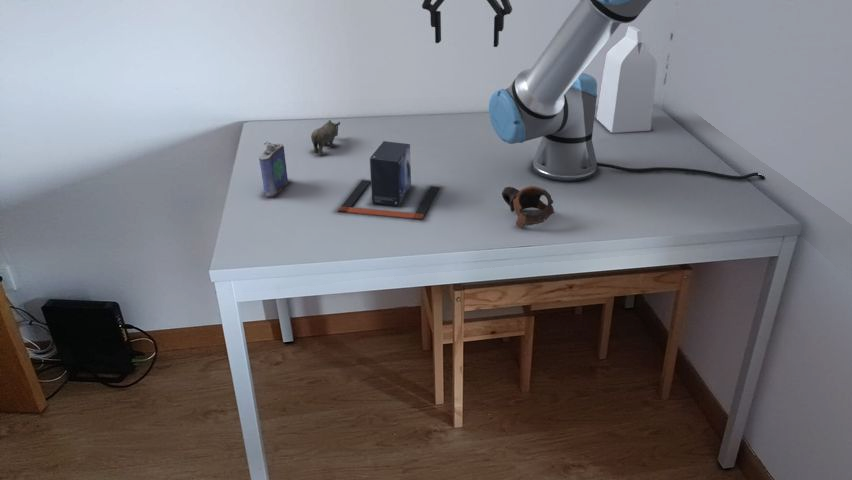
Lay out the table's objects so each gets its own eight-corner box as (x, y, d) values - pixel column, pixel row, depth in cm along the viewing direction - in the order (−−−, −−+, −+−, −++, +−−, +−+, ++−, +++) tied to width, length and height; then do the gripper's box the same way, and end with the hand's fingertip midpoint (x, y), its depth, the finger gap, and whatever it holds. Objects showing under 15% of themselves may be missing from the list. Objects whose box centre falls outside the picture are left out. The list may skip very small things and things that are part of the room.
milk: (596, 118, 200) (606, 24, 186) (633, 116, 202) (645, 23, 188) (611, 132, 190) (623, 34, 176) (650, 130, 192) (664, 33, 179)
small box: (400, 207, 147) (398, 160, 142) (371, 204, 148) (367, 158, 142) (413, 186, 156) (411, 142, 151) (385, 184, 157) (382, 140, 151)
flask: (273, 198, 149) (266, 151, 143) (260, 197, 149) (252, 149, 144) (291, 181, 157) (284, 135, 151) (278, 180, 157) (271, 134, 152)
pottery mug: (559, 214, 147) (563, 192, 140) (538, 248, 143) (541, 227, 136) (509, 190, 150) (512, 167, 142) (488, 222, 146) (489, 200, 138)
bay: (439, 188, 156) (439, 186, 156) (422, 219, 143) (422, 218, 142) (362, 181, 158) (362, 179, 158) (338, 211, 145) (337, 210, 144)
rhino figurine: (347, 137, 181) (345, 115, 178) (324, 156, 170) (321, 133, 166) (332, 135, 182) (330, 113, 178) (309, 154, 170) (306, 131, 167)
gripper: (527, -58, 151) (522, 43, 162) (415, -63, 153) (418, 36, 165) (522, -54, 144) (518, 51, 156) (406, -59, 147) (410, 43, 158)
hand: (467, 43), depth 160 cm, fingers open, 13 cm apart
